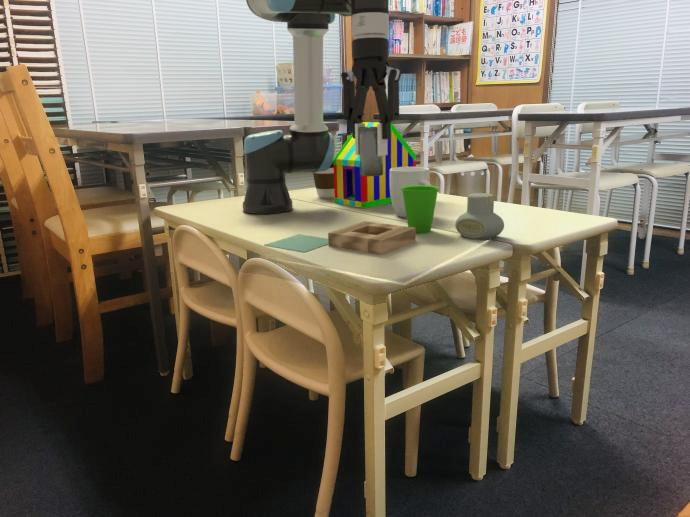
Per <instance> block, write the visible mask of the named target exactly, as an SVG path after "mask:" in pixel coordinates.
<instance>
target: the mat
mask: <svg viewBox="0 0 690 517" xmlns="http://www.w3.org/2000/svg"><path fill="white" fill-rule="evenodd" d="M263 246H264V247H265V246H266V247H271V248H277V249H282V250H287V251H293V252H299V253H307V252H311V251H314V250H316V249H320V248H322V247H326V246H329V245H328V237H327V238H326V237H320V236H312V235H307V234H299V233H298V234H295V235H291V236H289V237H286V238H282V239H279V240H275V241H272V242H269V243H265V244H263Z"/></svg>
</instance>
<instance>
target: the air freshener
mask: <svg viewBox="0 0 690 517" xmlns="http://www.w3.org/2000/svg"><path fill="white" fill-rule="evenodd" d="M466 202H467V203H466V204H467V205H466V212H464V213H462V214H461V215H459V216H458V218H457V219H456V220H455V224H454V226H455V229H456V231H457V232H458V233H459V234H460V235H461V236H462V237H464V238H466V239H467V238H468V239H472V240H490V239H491V240H492V239H494V238H496V237H498V236H499V235H500V234H502V232H503V230H504V228H505V222H504V219H503V218H502V217H501V216H500V215H498V214H497V213H495V212H494V211H495V210H494V209H495V206H494V204H495V195H493V194H492V193H488V192H485V193H484V192H473V193H470V194H468V195H467V201H466Z"/></svg>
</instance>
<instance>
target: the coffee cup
mask: <svg viewBox="0 0 690 517" xmlns="http://www.w3.org/2000/svg"><path fill="white" fill-rule="evenodd" d="M312 176H313V181H314V186H315V189H316V193H317V194H316V195H317V196H318V198H319V197H320V198H319V199H333V198H334V199H335V193H334V161H333V162H332V164H331V166H330V168H329V169H328V170H326V171H320V172H316V173H313V172H312Z"/></svg>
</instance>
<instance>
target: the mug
mask: <svg viewBox="0 0 690 517" xmlns="http://www.w3.org/2000/svg"><path fill="white" fill-rule="evenodd" d="M430 172H431V171H430V168H429V167H423V166H416V167H397V168H391V169H390V196H391V201H392V202H391V205H392V208H393V210H394V212H395V215H397V216H398V217H399V218H404V219H405V218H406V219H407V217H406V210H405V204H404V197H403V190H401V188H402V187H405V186H413V185H429V186H432V184H431V182H430V181H431V180H430V177H431V176H430V175H431V174H430Z"/></svg>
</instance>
